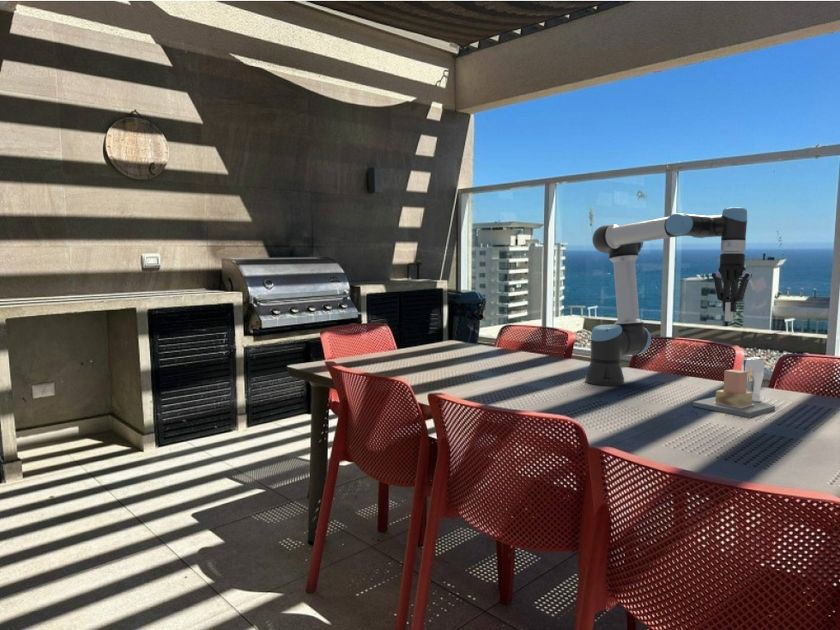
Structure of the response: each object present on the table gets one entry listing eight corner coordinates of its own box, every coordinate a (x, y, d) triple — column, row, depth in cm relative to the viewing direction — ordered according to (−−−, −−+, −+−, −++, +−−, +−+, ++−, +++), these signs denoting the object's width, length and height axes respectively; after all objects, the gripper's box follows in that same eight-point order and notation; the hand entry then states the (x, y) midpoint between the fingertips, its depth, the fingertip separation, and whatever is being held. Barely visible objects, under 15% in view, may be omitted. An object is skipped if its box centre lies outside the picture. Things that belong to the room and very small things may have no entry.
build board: (692, 406, 192) (692, 401, 191) (719, 399, 202) (719, 395, 202) (748, 417, 177) (748, 412, 177) (774, 410, 187) (774, 405, 187)
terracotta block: (723, 391, 189) (724, 370, 189) (730, 389, 192) (732, 369, 192) (738, 394, 185) (740, 372, 185) (746, 392, 188) (747, 371, 188)
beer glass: (759, 398, 205) (762, 357, 204) (764, 402, 198) (767, 360, 197) (737, 397, 207) (740, 356, 206) (741, 401, 201) (744, 359, 200)
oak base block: (715, 402, 190) (716, 390, 190) (727, 399, 195) (727, 388, 195) (740, 407, 184) (740, 395, 183) (751, 404, 188) (752, 392, 188)
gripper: (708, 253, 199) (704, 320, 201) (747, 252, 188) (742, 323, 190) (719, 253, 203) (715, 319, 205) (757, 253, 193) (753, 322, 195)
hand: (728, 321), depth 198 cm, fingers closed
